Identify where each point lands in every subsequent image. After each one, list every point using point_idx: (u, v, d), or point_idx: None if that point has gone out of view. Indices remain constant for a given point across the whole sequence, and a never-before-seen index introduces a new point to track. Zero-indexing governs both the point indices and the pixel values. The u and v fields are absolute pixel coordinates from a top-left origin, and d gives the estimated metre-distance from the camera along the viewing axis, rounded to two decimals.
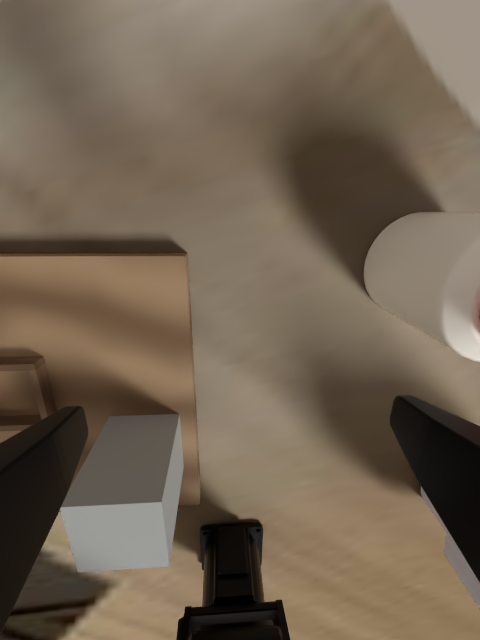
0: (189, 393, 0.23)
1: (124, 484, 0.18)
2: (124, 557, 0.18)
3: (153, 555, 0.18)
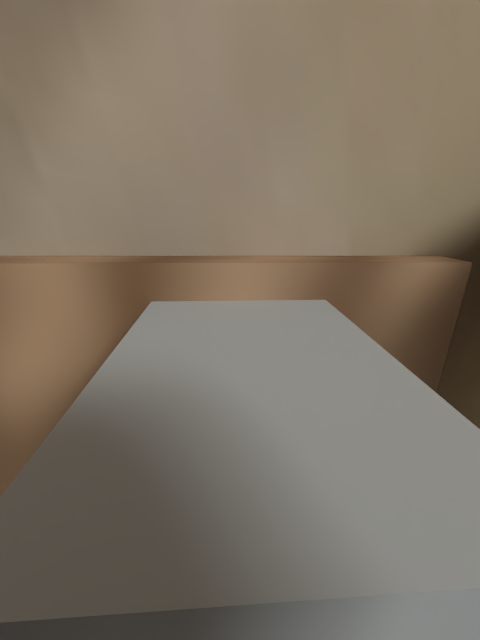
0: (83, 273, 0.09)
1: None
2: None
3: None
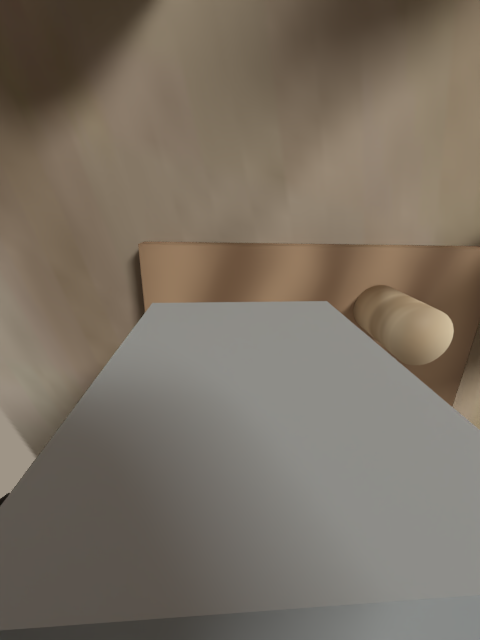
0: (313, 251, 0.18)
1: None
2: None
3: None
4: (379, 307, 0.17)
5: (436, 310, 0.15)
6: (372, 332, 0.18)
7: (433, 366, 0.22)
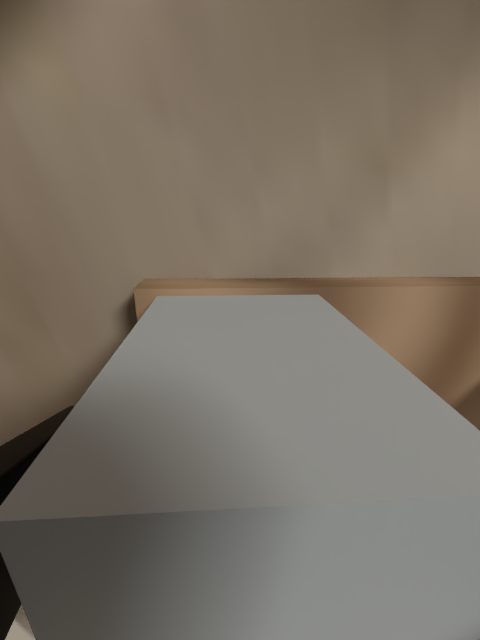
0: (438, 294, 0.11)
1: None
2: None
3: (429, 554, 0.03)
4: None
5: None
6: None
7: None
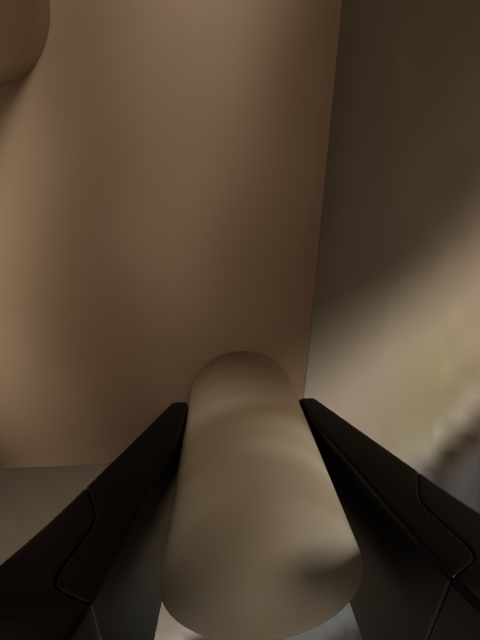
0: None
1: None
2: None
3: None
4: None
5: None
6: None
7: (228, 231, 0.08)
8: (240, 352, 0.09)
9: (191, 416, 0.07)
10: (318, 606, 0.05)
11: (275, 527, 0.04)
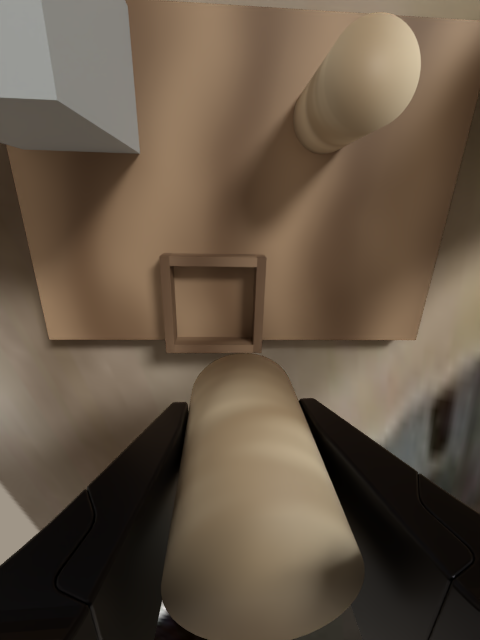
0: (230, 13, 0.13)
1: None
2: None
3: None
4: (317, 69, 0.12)
5: (393, 17, 0.09)
6: (309, 115, 0.12)
7: (405, 217, 0.16)
8: (240, 354, 0.09)
9: (192, 418, 0.07)
10: (319, 609, 0.05)
11: (276, 532, 0.04)
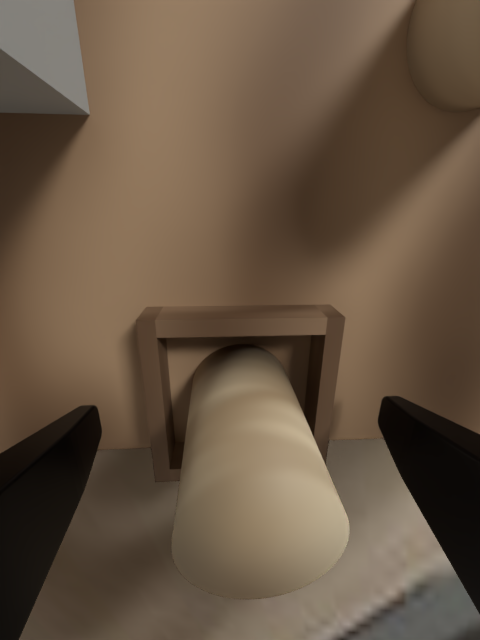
0: None
1: None
2: None
3: None
4: None
5: None
6: None
7: None
8: (239, 344, 0.09)
9: (195, 403, 0.08)
10: (310, 565, 0.06)
11: (272, 492, 0.05)
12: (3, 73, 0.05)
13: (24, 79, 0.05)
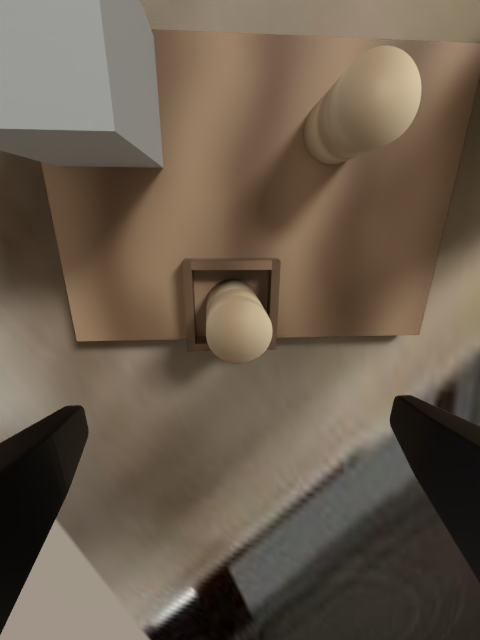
0: (246, 41, 0.14)
1: None
2: None
3: None
4: (327, 91, 0.13)
5: (396, 49, 0.11)
6: (321, 132, 0.13)
7: (407, 220, 0.18)
8: (232, 279, 0.18)
9: (211, 297, 0.17)
10: (257, 347, 0.14)
11: (244, 308, 0.14)
12: (143, 161, 0.14)
13: (149, 161, 0.14)
